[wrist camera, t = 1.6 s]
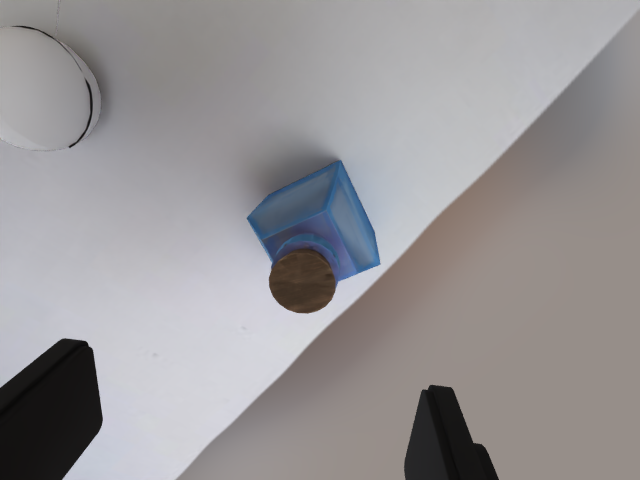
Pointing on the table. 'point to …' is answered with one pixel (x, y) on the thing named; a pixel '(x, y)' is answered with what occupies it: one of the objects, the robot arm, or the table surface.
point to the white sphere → (44, 91)
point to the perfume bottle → (314, 238)
